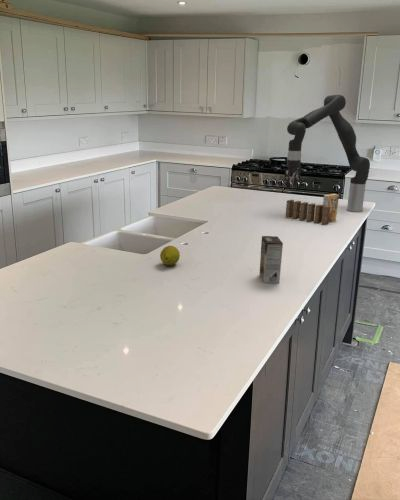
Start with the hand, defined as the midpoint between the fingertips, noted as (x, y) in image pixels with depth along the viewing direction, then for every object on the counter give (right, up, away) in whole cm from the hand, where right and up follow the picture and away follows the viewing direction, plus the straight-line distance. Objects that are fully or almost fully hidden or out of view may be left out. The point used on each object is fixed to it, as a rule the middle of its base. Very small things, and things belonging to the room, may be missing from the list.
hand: (291, 187), depth 292 cm
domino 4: (+10, -19, -3) cm, 22 cm away
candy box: (+21, -20, -1) cm, 29 cm away
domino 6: (+17, -21, -8) cm, 28 cm away
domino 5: (+14, -20, -5) cm, 25 cm away
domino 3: (+7, -19, 0) cm, 20 cm away
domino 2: (+3, -18, +3) cm, 18 cm away
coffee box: (-26, -47, -94) cm, 108 cm away
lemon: (-65, -42, -82) cm, 113 cm away
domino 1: (-1, -17, +5) cm, 18 cm away
